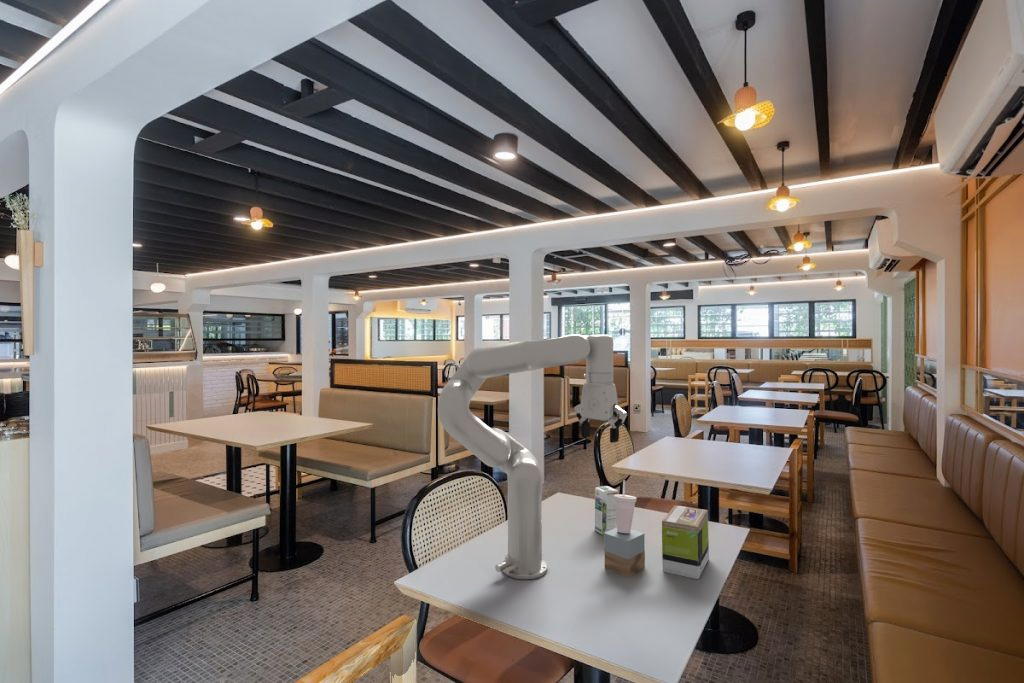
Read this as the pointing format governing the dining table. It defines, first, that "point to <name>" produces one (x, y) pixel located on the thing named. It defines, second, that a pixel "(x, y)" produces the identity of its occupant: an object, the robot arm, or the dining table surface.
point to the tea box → (685, 541)
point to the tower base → (625, 563)
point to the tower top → (624, 543)
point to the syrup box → (605, 509)
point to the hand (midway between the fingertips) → (599, 439)
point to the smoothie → (624, 511)
